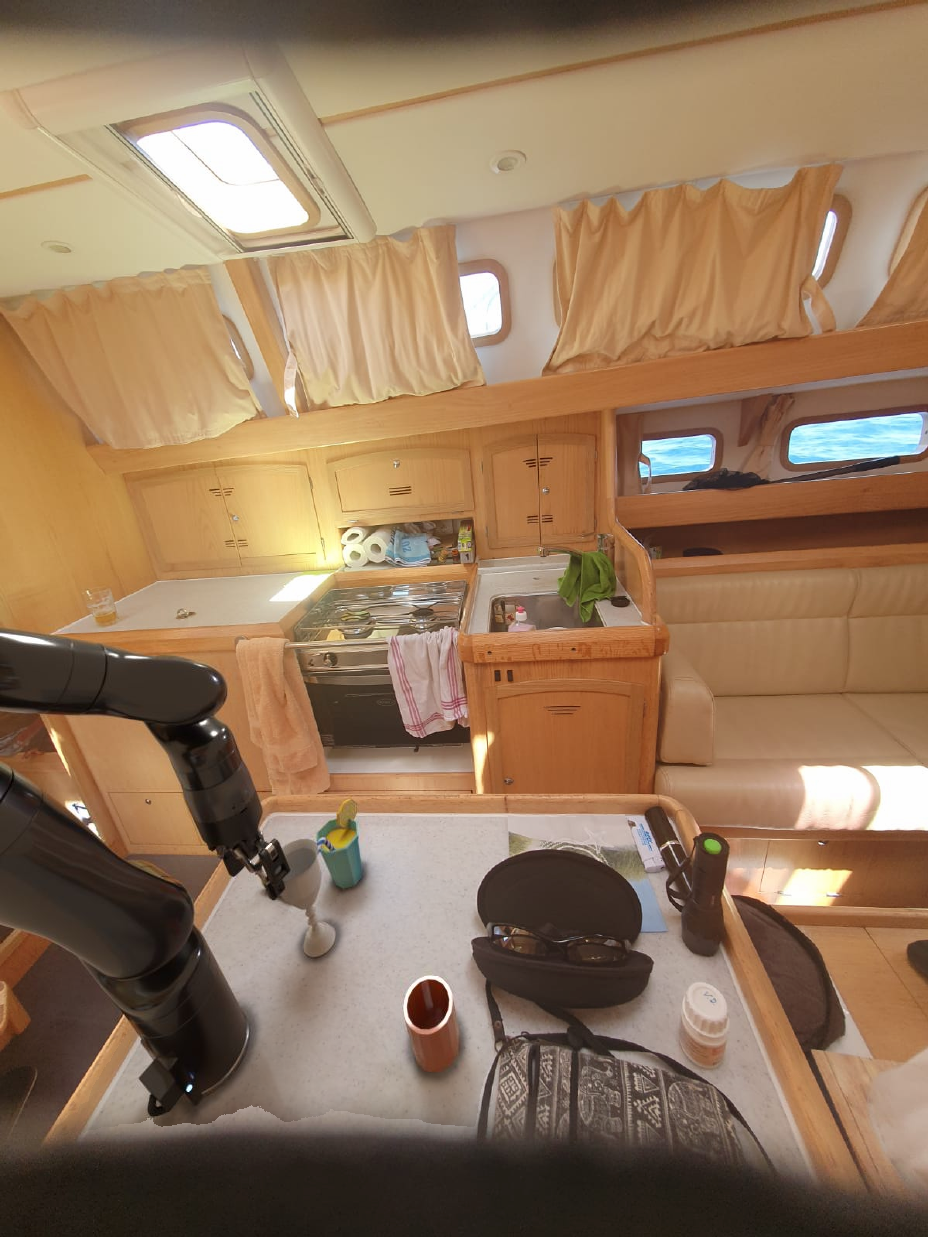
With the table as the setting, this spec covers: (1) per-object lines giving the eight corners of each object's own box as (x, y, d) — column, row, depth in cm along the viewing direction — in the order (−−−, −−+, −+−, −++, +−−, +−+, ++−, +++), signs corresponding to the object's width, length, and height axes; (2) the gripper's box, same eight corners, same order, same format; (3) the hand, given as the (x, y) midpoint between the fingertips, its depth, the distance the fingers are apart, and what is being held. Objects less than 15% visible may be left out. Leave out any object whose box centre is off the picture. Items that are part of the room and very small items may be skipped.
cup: (353, 920, 75) (335, 857, 69) (310, 916, 76) (288, 854, 70) (378, 847, 88) (365, 789, 82) (341, 845, 89) (325, 788, 83)
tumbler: (445, 1084, 55) (436, 1045, 52) (404, 1056, 58) (393, 1018, 55) (467, 1028, 60) (461, 989, 57) (429, 1004, 63) (420, 966, 60)
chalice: (316, 973, 68) (288, 889, 61) (287, 951, 71) (257, 869, 65) (350, 929, 74) (328, 848, 67) (322, 911, 77) (298, 832, 71)
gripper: (162, 801, 58) (202, 886, 64) (233, 839, 51) (270, 928, 58) (214, 763, 64) (247, 844, 70) (284, 793, 57) (312, 879, 64)
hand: (257, 882), depth 64 cm, fingers open, 8 cm apart
